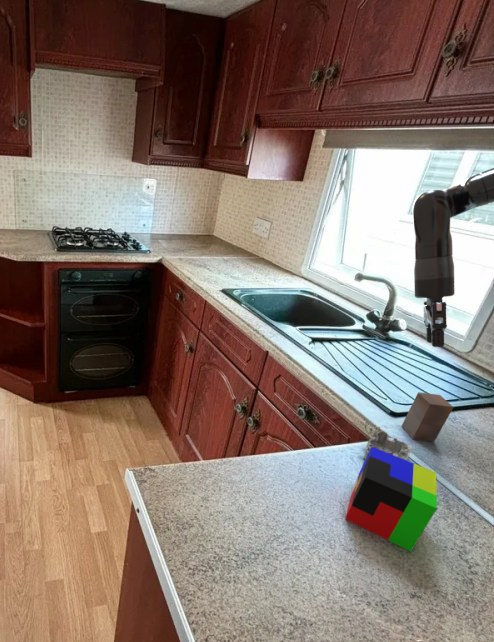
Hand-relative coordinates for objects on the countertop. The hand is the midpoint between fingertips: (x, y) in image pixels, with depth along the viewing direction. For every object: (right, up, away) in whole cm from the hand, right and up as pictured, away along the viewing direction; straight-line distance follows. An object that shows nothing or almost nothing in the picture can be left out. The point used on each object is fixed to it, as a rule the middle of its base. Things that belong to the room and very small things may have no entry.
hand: (435, 344), depth 98 cm
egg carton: (-19, -25, -10) cm, 33 cm away
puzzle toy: (-29, -31, -25) cm, 49 cm away
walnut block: (-5, -22, -1) cm, 22 cm away
